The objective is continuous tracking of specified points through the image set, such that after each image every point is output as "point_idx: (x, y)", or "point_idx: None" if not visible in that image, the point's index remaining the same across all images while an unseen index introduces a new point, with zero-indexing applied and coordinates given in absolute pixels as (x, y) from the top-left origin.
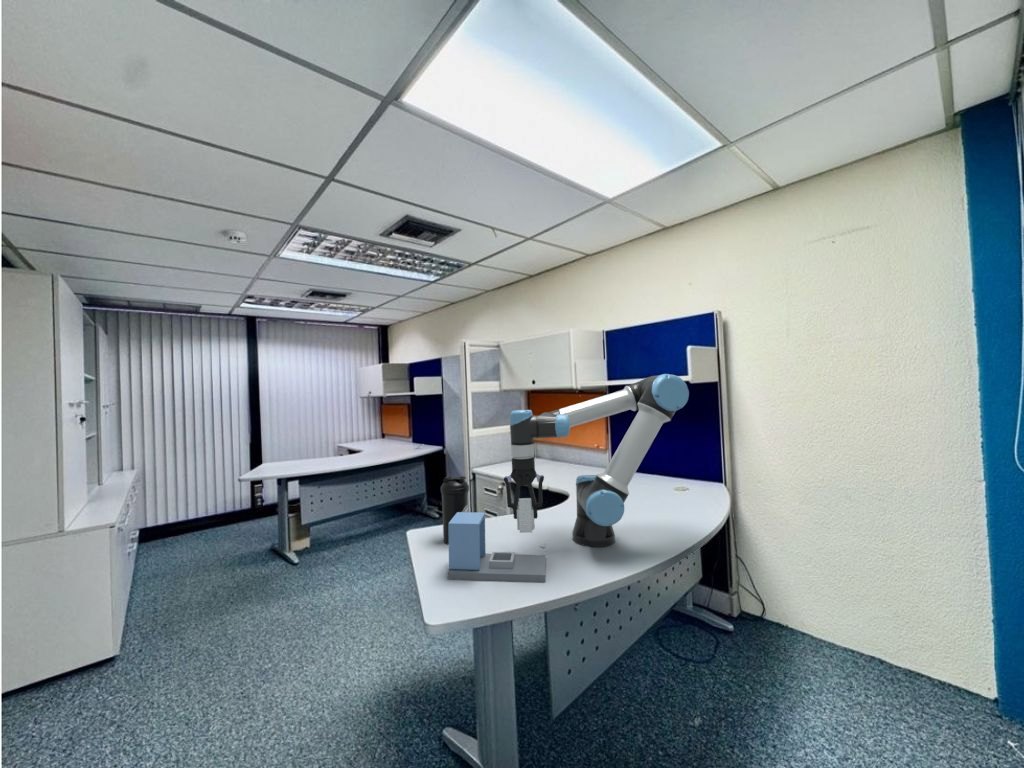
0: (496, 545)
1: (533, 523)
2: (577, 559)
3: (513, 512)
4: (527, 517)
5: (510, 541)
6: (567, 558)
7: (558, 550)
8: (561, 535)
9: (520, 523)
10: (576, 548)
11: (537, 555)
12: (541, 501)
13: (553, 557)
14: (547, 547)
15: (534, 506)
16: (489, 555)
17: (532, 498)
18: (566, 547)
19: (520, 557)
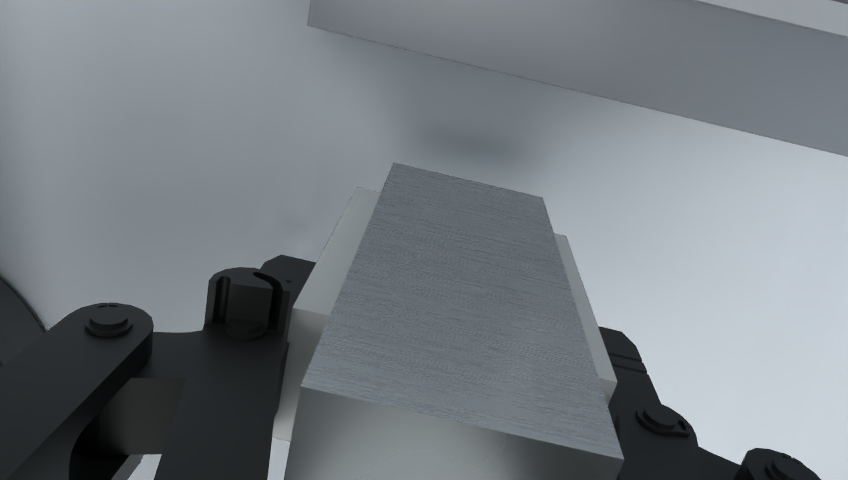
0: (665, 405)
1: (350, 214)
2: (55, 16)
3: (653, 393)
4: (428, 244)
5: None
6: (135, 51)
7: (191, 220)
8: (141, 472)
9: (538, 236)
10: (49, 230)
11: (384, 25)
12: (30, 363)
13: (247, 92)
14: None
15: (249, 336)
16: (841, 108)
17: (223, 468)
18: (124, 263)
19: (554, 6)
